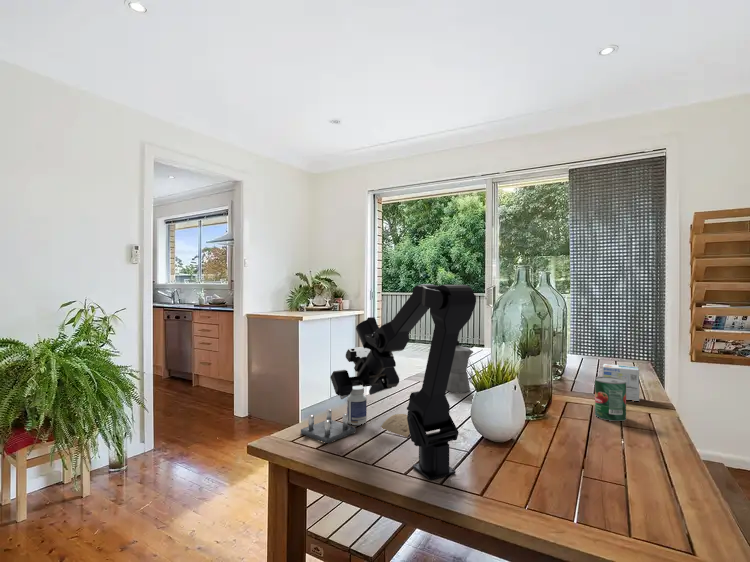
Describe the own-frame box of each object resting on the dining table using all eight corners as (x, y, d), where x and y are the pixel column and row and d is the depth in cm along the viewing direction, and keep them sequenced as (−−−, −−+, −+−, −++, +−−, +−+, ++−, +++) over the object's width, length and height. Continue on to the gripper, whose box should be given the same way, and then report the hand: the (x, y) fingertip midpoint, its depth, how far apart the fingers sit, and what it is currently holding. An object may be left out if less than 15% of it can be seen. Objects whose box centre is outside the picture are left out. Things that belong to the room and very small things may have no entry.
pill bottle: (370, 422, 113) (370, 387, 113) (356, 427, 109) (356, 391, 109) (357, 417, 116) (357, 384, 116) (343, 422, 112) (343, 387, 113)
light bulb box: (639, 397, 137) (639, 366, 137) (639, 402, 131) (639, 369, 131) (603, 393, 142) (603, 362, 143) (602, 397, 137) (602, 366, 137)
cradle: (355, 432, 105) (355, 414, 105) (327, 443, 97) (327, 424, 97) (329, 423, 112) (329, 406, 112) (300, 433, 104) (300, 415, 104)
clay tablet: (406, 440, 101) (406, 430, 101) (376, 431, 108) (376, 420, 108) (437, 425, 112) (437, 415, 112) (408, 417, 118) (408, 408, 118)
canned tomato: (588, 414, 119) (588, 377, 119) (609, 412, 121) (608, 375, 122) (611, 423, 111) (611, 383, 112) (633, 420, 114) (632, 381, 114)
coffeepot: (480, 390, 146) (479, 341, 146) (465, 395, 139) (465, 343, 140) (445, 383, 157) (445, 337, 157) (430, 387, 151) (430, 339, 151)
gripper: (393, 336, 113) (374, 368, 123) (333, 340, 104) (317, 375, 114) (410, 369, 107) (387, 400, 116) (346, 377, 97) (328, 410, 107)
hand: (355, 395), depth 113 cm, fingers open, 9 cm apart
